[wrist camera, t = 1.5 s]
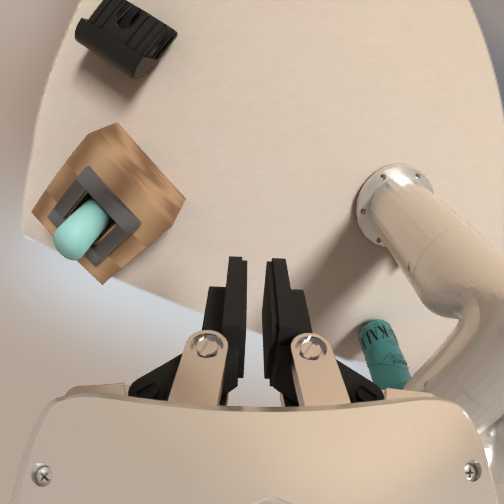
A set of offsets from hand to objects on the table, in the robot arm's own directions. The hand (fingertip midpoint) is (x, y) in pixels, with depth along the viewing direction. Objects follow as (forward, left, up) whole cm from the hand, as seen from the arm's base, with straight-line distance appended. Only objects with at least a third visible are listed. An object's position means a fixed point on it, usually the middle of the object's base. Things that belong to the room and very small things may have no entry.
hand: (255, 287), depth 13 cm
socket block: (+7, +18, -27) cm, 33 cm away
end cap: (+21, +2, -27) cm, 35 cm away
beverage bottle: (-38, +1, -27) cm, 47 cm away
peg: (+7, +18, -22) cm, 29 cm away
